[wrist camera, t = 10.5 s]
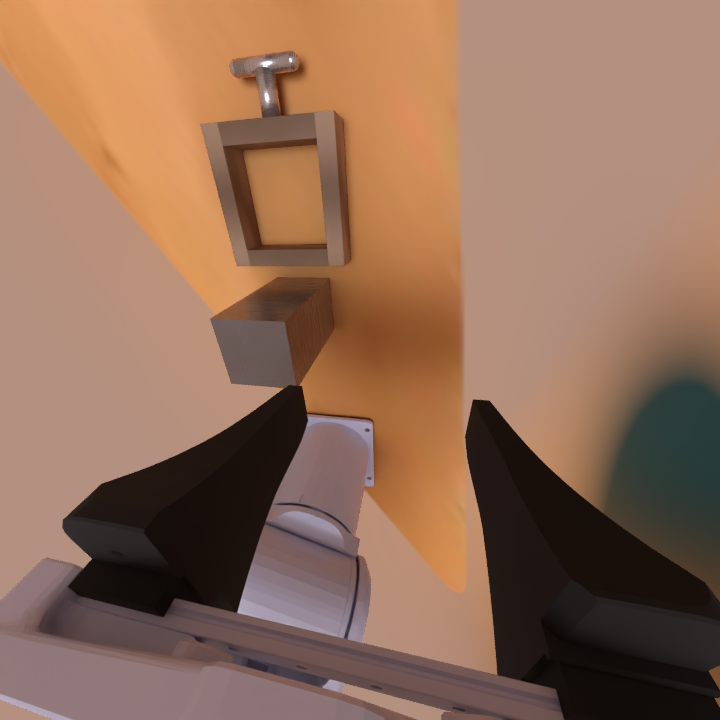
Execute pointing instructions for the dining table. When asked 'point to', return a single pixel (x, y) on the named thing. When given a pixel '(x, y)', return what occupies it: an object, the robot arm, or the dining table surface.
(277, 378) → the steel post
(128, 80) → the dining table surface
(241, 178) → the walnut clamp block
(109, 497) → the robot arm
